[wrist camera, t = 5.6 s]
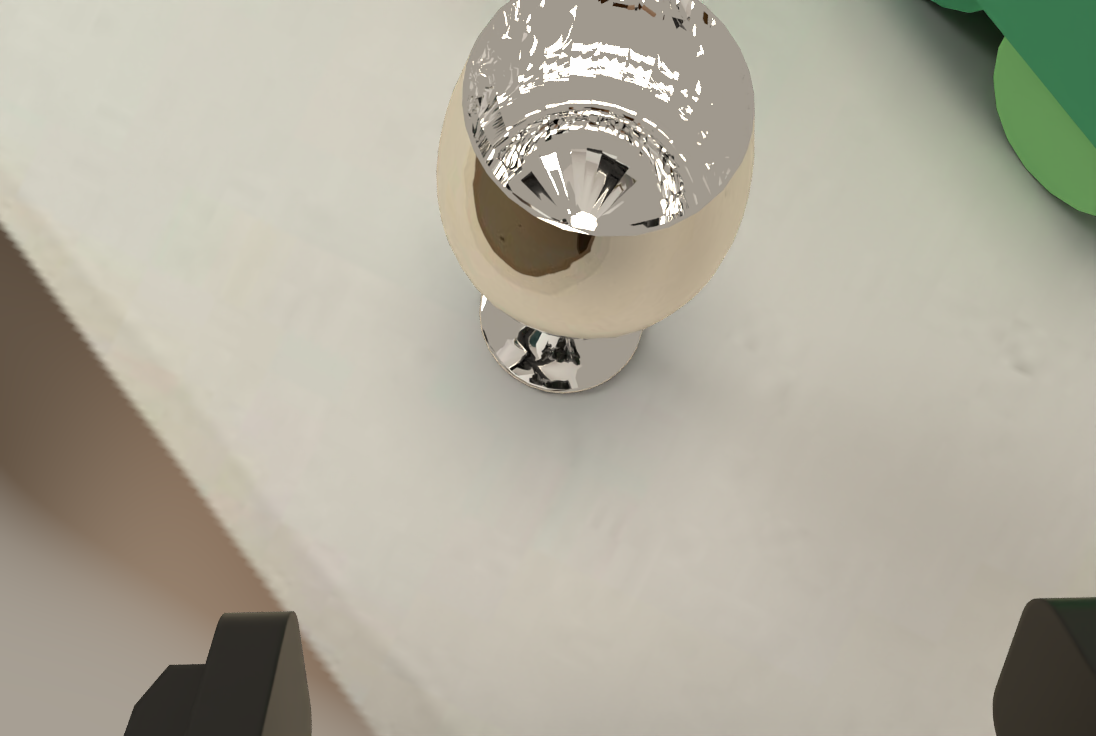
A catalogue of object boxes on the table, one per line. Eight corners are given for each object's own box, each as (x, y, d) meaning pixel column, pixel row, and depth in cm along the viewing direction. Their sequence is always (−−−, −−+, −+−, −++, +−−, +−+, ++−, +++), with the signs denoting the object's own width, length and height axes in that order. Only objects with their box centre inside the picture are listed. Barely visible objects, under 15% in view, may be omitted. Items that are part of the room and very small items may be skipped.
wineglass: (611, 455, 27) (697, 337, 16) (416, 357, 28) (358, 169, 16) (702, 269, 29) (845, 32, 17) (515, 177, 29) (529, -118, 17)
